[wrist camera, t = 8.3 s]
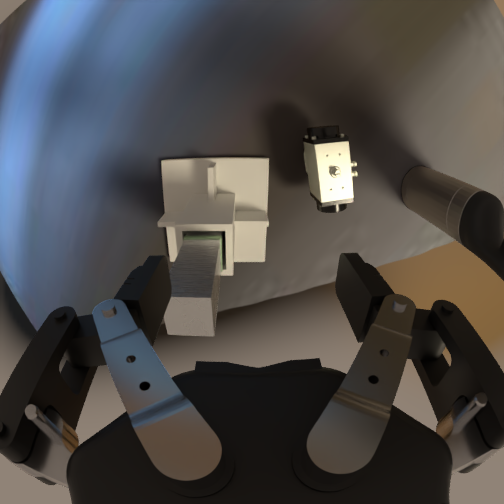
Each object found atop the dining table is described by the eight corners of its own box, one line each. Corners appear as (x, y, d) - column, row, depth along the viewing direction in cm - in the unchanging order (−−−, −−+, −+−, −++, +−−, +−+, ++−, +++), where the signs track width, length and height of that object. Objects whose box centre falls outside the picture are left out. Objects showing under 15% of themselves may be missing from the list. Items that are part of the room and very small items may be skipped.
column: (225, 213, 37) (212, 296, 20) (225, 241, 39) (215, 337, 22) (195, 213, 37) (158, 295, 20) (197, 241, 39) (167, 336, 22)
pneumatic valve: (304, 196, 45) (324, 220, 34) (294, 127, 40) (313, 129, 29) (335, 191, 44) (363, 213, 34) (327, 124, 39) (356, 125, 29)
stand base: (268, 157, 42) (282, 175, 27) (264, 257, 50) (273, 314, 35) (163, 159, 41) (125, 179, 27) (172, 257, 49) (147, 312, 34)
